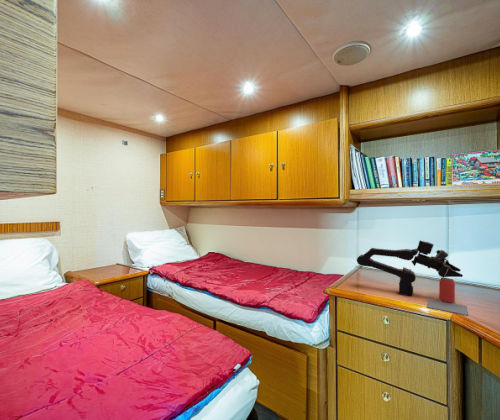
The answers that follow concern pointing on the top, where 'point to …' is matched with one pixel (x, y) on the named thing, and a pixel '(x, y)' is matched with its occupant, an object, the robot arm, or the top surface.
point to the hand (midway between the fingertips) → (461, 273)
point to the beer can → (447, 290)
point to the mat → (447, 307)
